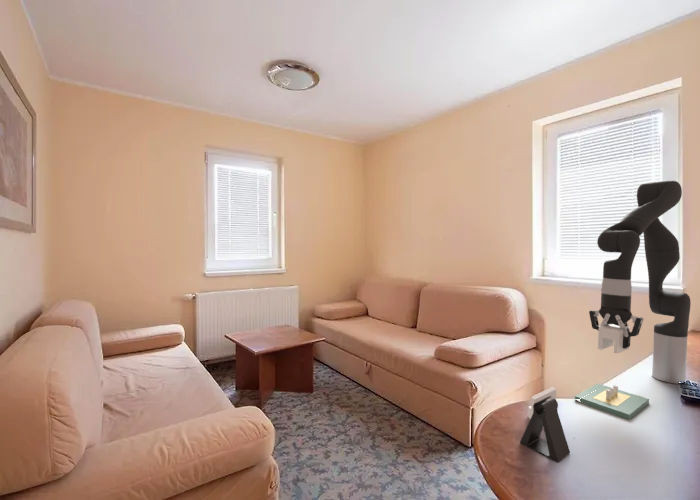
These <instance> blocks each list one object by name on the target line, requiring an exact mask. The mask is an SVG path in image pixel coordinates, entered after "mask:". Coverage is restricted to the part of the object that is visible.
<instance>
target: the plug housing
mask: <svg viewBox="0 0 700 500" xmlns="http://www.w3.org/2000/svg"><path fill="white" fill-rule="evenodd" d="M599 326H600V327H599V331H598V336H597V338H598V339H597V350H601V351H602V350H605V349H607V348H609V347H610V348H611V347H613V353H615V354H620V353H622V352H624V351H627V350H629V349H630V346H629V347H628V348H627V349H624V348H623V337H624V335H623V329H620V326H617V325H614V324H609V325H607V326H601V325H599ZM629 330H630V331H631V327H630V326H629Z"/></svg>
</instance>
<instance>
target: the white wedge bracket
mask: <svg viewBox="0 0 700 500" xmlns="http://www.w3.org/2000/svg"><path fill="white" fill-rule="evenodd" d="M546 397H550V398H549V399H547V401H549V400H551V399H553V398H554V399H555V400H556V401H557V388H555V387H554V386H551V387H549V388H546V389H544V390H543V391H541V392H540V391H539V393H536V394H534V395H533V396H531V400H530V405H529V406H527V407H528V409H527V418H528V419H529V420H530V419H531V417H532V415H533V405H534V403H536V402H538V401H540V400H542V399H544V398H546ZM547 401H546V402H547Z"/></svg>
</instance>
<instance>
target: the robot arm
mask: <svg viewBox="0 0 700 500" xmlns="http://www.w3.org/2000/svg"><path fill="white" fill-rule="evenodd" d="M682 192H683V191H682V186H681V184H680V183H679V182H678V181H677V180H661V181H651V182H643V183H641V184H640V185H638V187H637V189H636V202H637V205H638V206H637V207H636V208H634V209H632V210H631V211H629V212H628V213H626V214H625V215H624V216H623V218H621V220H620V221H619V222H617V223H615V224H613V225H611V226H609V227H607V228H606V229H604V230H603V231H602V232H601V233H599V236H598V238H597V240H596V241H597V246H598V248H599V250H601V251H602V252H604V253H605V252H606V253H617V254H618V253H620V255H619V256H618V257H617V258H616V259H615V258H613V259H608V260H605V261H604V262H603V271H602V282H601V289H600V291H601V292H600V293H601V297H600V308H599V310H595V309H594V310H589V312H588V313H589V314H588V315H589V319H590V323H591V328H592V329H593V330H597V332H599V327H600V326H607V325H609V324H614V325H617V326H620V329H623V335H624V337H623V348H624V349H627V348H628V347H629V348H630V346H631V338H632V337H637V336H639V334H640V330H641V329H642V325H643V323H644V317H641V316H639V317H638V316H635V315H633V314H632V312H631V310H632V309H631V308H632V306H631V305H632V286H633V285H632V280H631V279H632V267H633V263H634V261H635V257H636V255H637V253H638V251H639V248H640V246H641V245H640V244H641V237H640V236H641V235H642V234H643V243H644V252H645V261H646V267H647V273H648V305H649V308H650V311H651V312H652V313H654V314H656V315H661V316H662V315H663V316H668V317H674V318H673V320H672V321H670V322H664V323H663V322H662V323H661V322H660V323H656V324H654V327H653V343H652V374H651V376H652V377H653V378H654V379H655V380H659V381H663V382H665V383H669V384H670V383H671V384H675V385H679V384H678V383H679V382H680V381H686V382H687V365H688V364H687V360H688V356H687V355H688V332H689V325H690V324H689V323H690V322H689V321H690V312H691V298H690V296H689V294H688V293H687V292H681V291H680V292H679V291H669V290H664V289H663V285H664V281H665V279H666V278H667V276H668V275H669V274H670V273H671V271H672V270H673V269H674V268H675V267H676V266H677V265H678V263H679V261H680V258H681V256H680V245H679V243H680V242H679V240H678V238H676V236H675V235H674V234H673V232H672V231H670V229H668V228H667V227H666V226H665V225H664V224H663V223H662V221H661V220H660V218H659V217H662V215H664V214H666V213H667V212H668V211H669V210H671V209H672V208H674V207H676V206H677V204H678V203H680V200H681V199H682V195H683V193H682ZM599 316H601V318H602V321H601V323H600V325H599V319H598V317H599ZM630 320H632V321H631V322H632V323H633V326H632V330H631V329H630V330H629V327H630V326H629V324H628V322H629V321H630ZM627 350H628V349H627Z"/></svg>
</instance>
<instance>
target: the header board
mask: <svg viewBox="0 0 700 500" xmlns="http://www.w3.org/2000/svg"><path fill="white" fill-rule="evenodd" d="M595 390H596V391H595ZM593 391H594V392H593ZM591 392H592V393H591ZM588 394H589V395H588ZM586 395H587V396H586ZM584 396H585V397H584ZM582 397H583V398H582ZM580 398H581V399H580ZM575 399H580V401H581V402H583V403H585V404H584V405H586V404H587V405H586V406H589V407H592V408H594V409H596V410H597V409H598V410H600V411H603V412H606V413H609V414H612V415H614V416H617V417H620V418H623V419H625V420H627V421H628V420H629V421H630V420H631V419H632V418H633V417H635V416H636V415H637V414H638V413H639V412H641V411H642V410H643V409H644V408H645V407H647V406H648V405H649V404H650V399H649V398H647V397H645V396H640V395H637V394H633V393H631V392H630V393H629V392H627V391H624V390H621V389H619V386H618V385H615V384H614V385H613V387H611V386H607V385H603V384H601V383H596V384H594V385H592V386H591V387H589V388H587V389H585V390H583V391H581V392H579V393H578V394H576V395H574V400H575ZM583 403H582V404H583Z"/></svg>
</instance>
